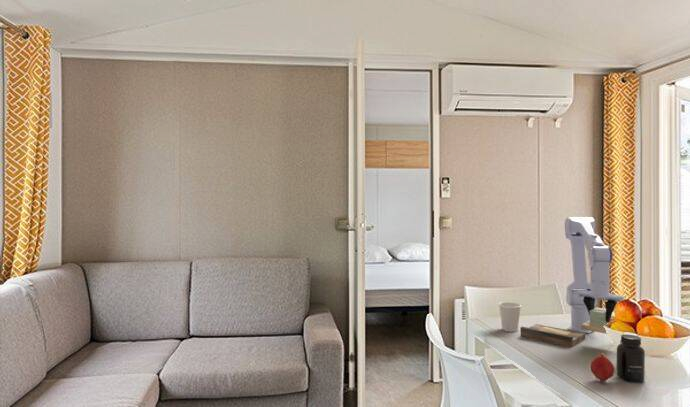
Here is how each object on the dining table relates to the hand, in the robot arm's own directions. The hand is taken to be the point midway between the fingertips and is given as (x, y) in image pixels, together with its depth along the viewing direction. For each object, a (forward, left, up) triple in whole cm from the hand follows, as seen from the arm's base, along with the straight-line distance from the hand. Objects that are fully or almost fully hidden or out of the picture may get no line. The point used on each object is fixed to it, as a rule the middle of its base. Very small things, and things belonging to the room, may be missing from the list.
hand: (600, 320), depth 158 cm
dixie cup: (+1, -32, -10) cm, 33 cm away
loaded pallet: (0, 0, -3) cm, 3 cm away
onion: (+32, +10, -10) cm, 35 cm away
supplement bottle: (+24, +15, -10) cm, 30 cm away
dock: (0, -16, -9) cm, 19 cm away
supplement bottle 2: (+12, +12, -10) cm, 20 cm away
